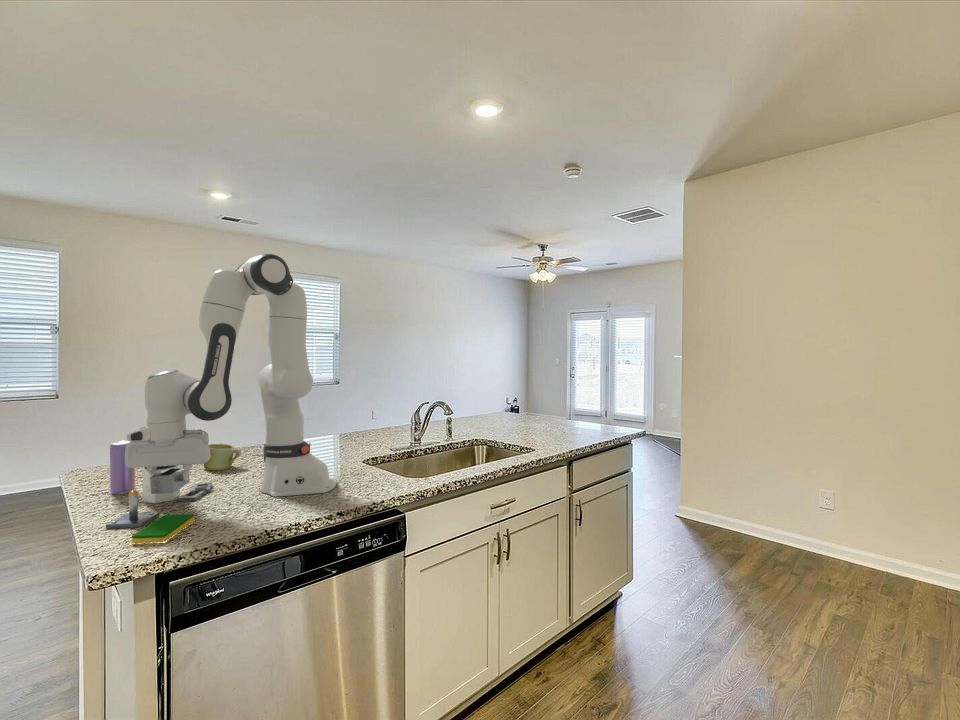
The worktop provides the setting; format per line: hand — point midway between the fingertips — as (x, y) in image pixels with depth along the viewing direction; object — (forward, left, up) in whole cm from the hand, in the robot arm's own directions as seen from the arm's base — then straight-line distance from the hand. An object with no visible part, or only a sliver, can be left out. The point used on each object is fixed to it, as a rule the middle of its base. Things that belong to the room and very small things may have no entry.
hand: (170, 481), depth 131 cm
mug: (+4, -44, -8) cm, 45 cm away
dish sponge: (-7, +17, -8) cm, 20 cm away
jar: (+7, -9, -8) cm, 14 cm away
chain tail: (-1, -14, -7) cm, 16 cm away
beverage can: (+22, -17, -8) cm, 29 cm away
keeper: (+4, +10, -7) cm, 13 cm away
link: (0, 0, -2) cm, 2 cm away
